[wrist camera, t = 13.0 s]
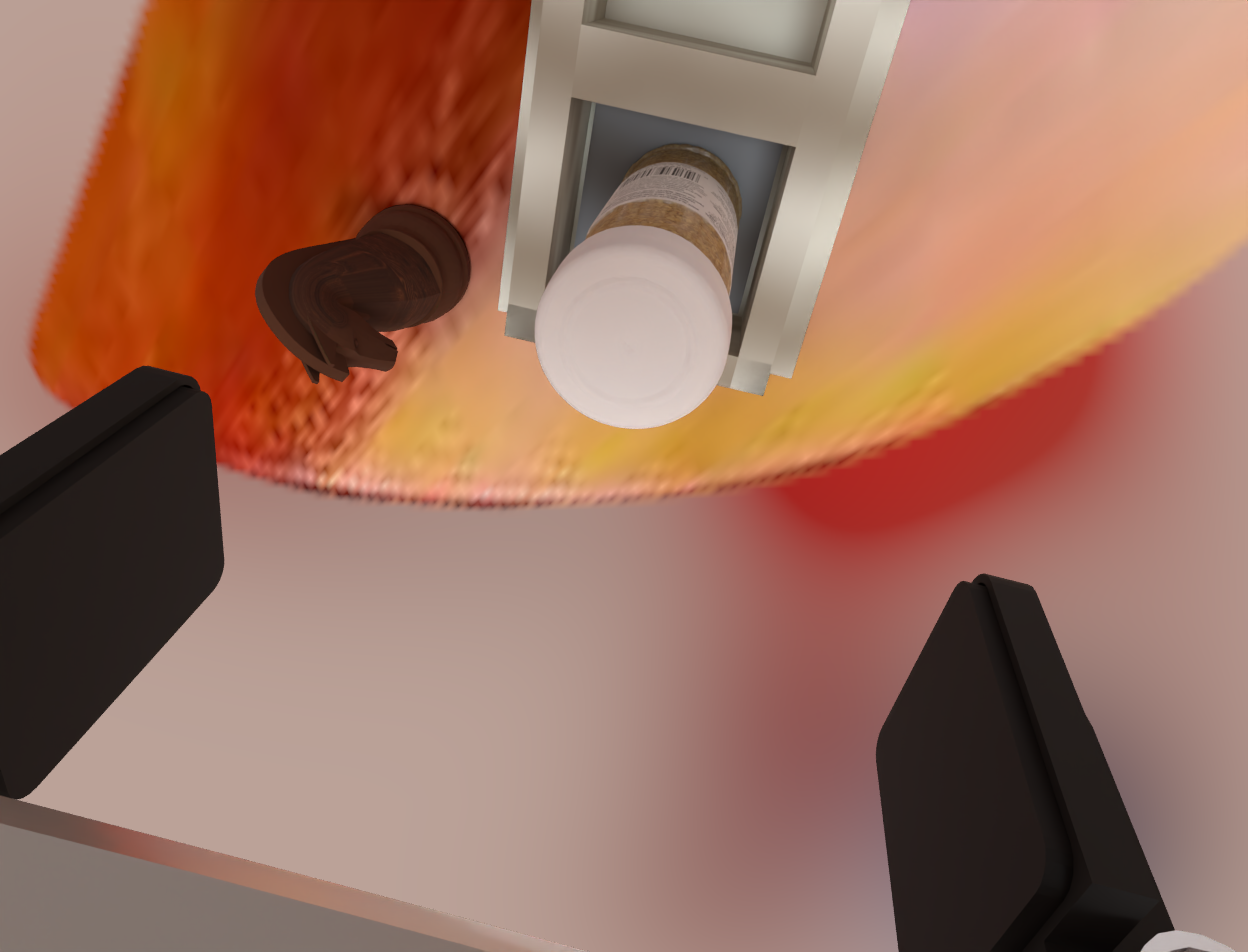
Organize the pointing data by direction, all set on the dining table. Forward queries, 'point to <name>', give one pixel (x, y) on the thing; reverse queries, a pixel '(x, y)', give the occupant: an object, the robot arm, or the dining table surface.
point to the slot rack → (700, 140)
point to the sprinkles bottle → (646, 294)
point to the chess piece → (363, 290)
